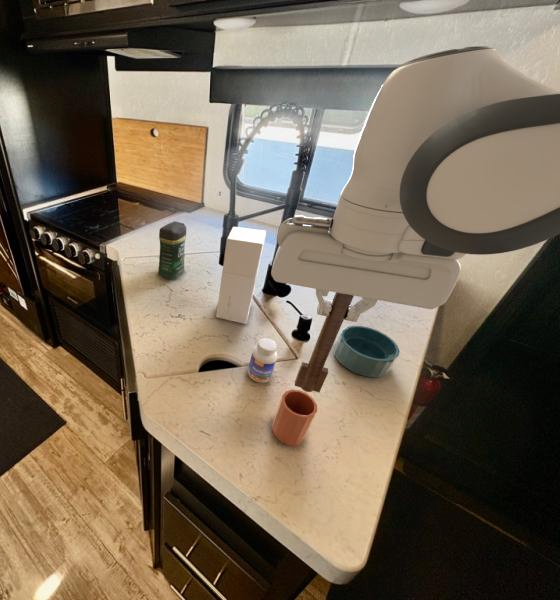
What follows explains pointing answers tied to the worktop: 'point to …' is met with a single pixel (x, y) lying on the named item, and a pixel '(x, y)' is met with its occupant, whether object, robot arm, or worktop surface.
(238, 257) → the tall white carton
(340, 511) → the worktop surface
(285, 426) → the crock
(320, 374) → the stick
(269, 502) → the worktop surface
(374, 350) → the bowl
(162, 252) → the coffee jar
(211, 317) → the worktop surface
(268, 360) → the pill bottle
